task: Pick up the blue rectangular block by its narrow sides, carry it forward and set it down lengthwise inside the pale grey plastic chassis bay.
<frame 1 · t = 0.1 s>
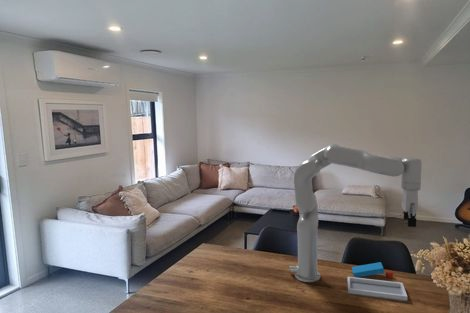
hand: (409, 223, 149), 31 cm above the table, tool pointing down, fingers open, 9 cm apart
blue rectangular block: (372, 276, 165), on the table
chassis bay: (375, 290, 151), on the table
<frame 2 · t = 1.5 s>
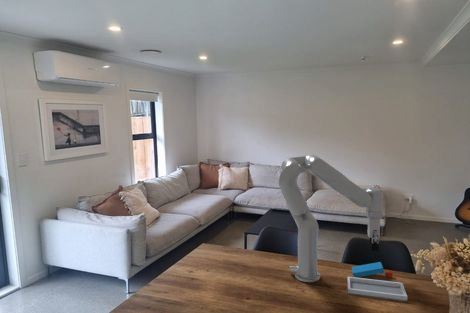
hand: (373, 247, 163), 15 cm above the table, tool pointing down, fingers open, 9 cm apart
nothing on the table moved.
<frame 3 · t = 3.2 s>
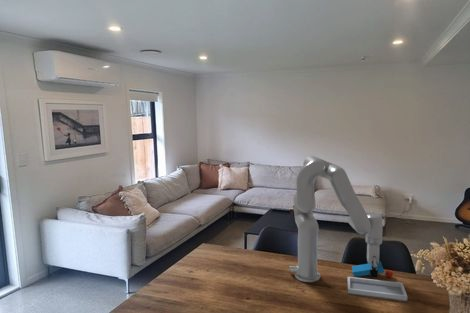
hand: (373, 273, 165), 1 cm above the table, tool pointing down, fingers closed on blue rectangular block, 7 cm apart
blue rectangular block: (372, 275, 165), on the table, touching gripper
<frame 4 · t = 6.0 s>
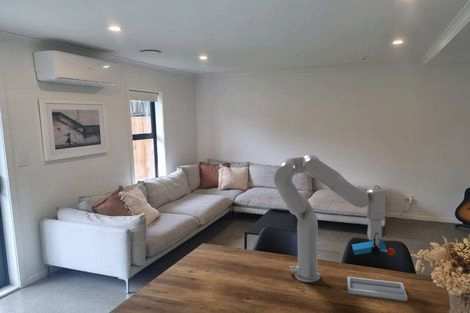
hand: (374, 251, 157), 15 cm above the table, tool pointing down, fingers closed on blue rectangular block, 7 cm apart
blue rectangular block: (373, 254, 157), point 14 cm above the table, touching gripper
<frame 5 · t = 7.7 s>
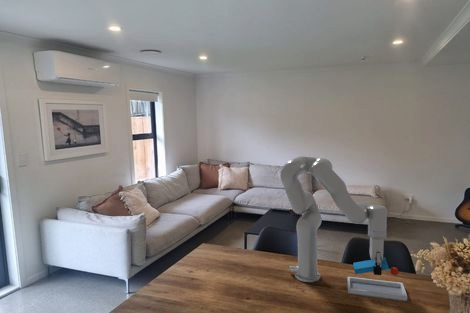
hand: (376, 270, 150), 10 cm above the table, tool pointing down, fingers closed on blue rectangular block, 7 cm apart
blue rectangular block: (375, 273, 150), point 8 cm above the table, touching gripper
when the fingers open (4 cm above the table, at t = 9.3 s): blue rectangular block drops 2 cm, resting on chassis bay.
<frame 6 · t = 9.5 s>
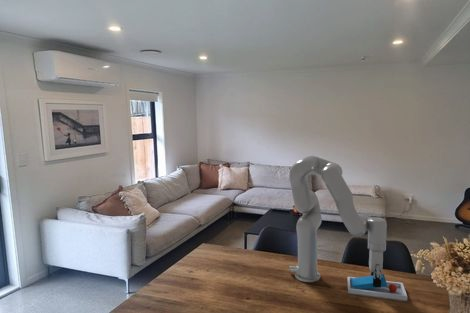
hand: (375, 281, 150), 4 cm above the table, tool pointing down, fingers open, 9 cm apart
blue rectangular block: (374, 289, 151), resting on chassis bay
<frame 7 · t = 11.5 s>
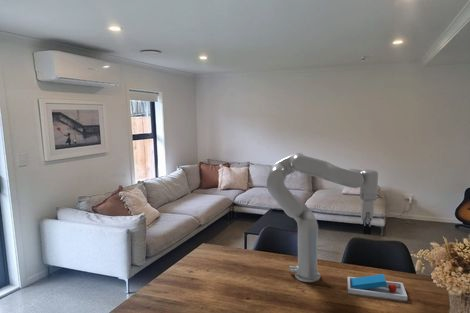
hand: (366, 230, 159), 24 cm above the table, tool pointing down, fingers open, 9 cm apart
nothing on the table moved.
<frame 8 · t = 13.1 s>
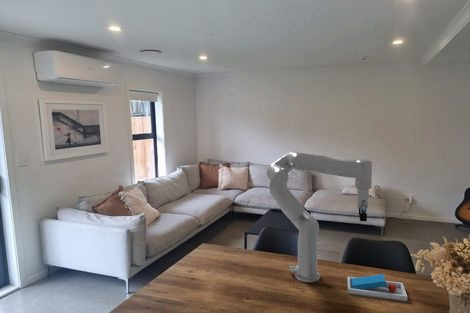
hand: (362, 218, 166), 28 cm above the table, tool pointing down, fingers open, 9 cm apart
nothing on the table moved.
at the end: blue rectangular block 0.8 cm off-centre on the chassis bay, point 0.4 cm above the chassis bay's base; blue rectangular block tilted 0°; the gripper is holding nothing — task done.
